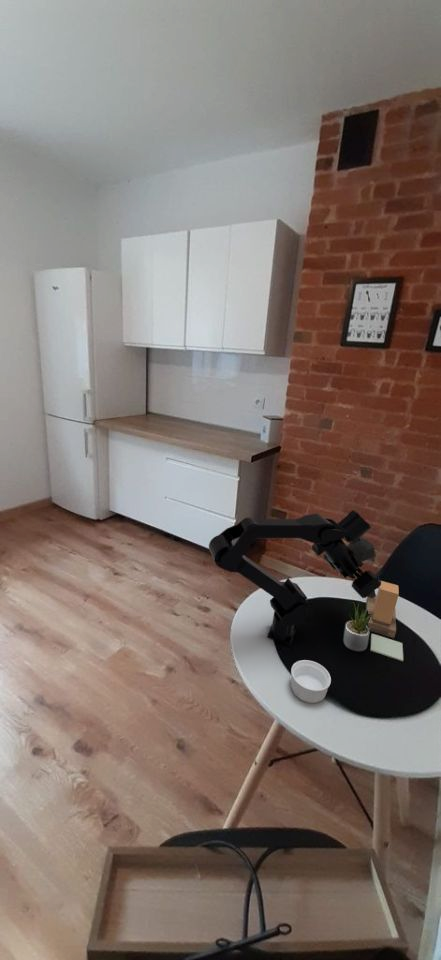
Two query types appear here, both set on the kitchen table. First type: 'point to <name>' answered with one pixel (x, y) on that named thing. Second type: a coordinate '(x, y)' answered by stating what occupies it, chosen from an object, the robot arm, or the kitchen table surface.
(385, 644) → the mat
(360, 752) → the kitchen table surface
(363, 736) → the kitchen table surface
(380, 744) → the kitchen table surface
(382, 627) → the header
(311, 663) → the ramekin
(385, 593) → the orange rectangular block
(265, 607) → the kitchen table surface
